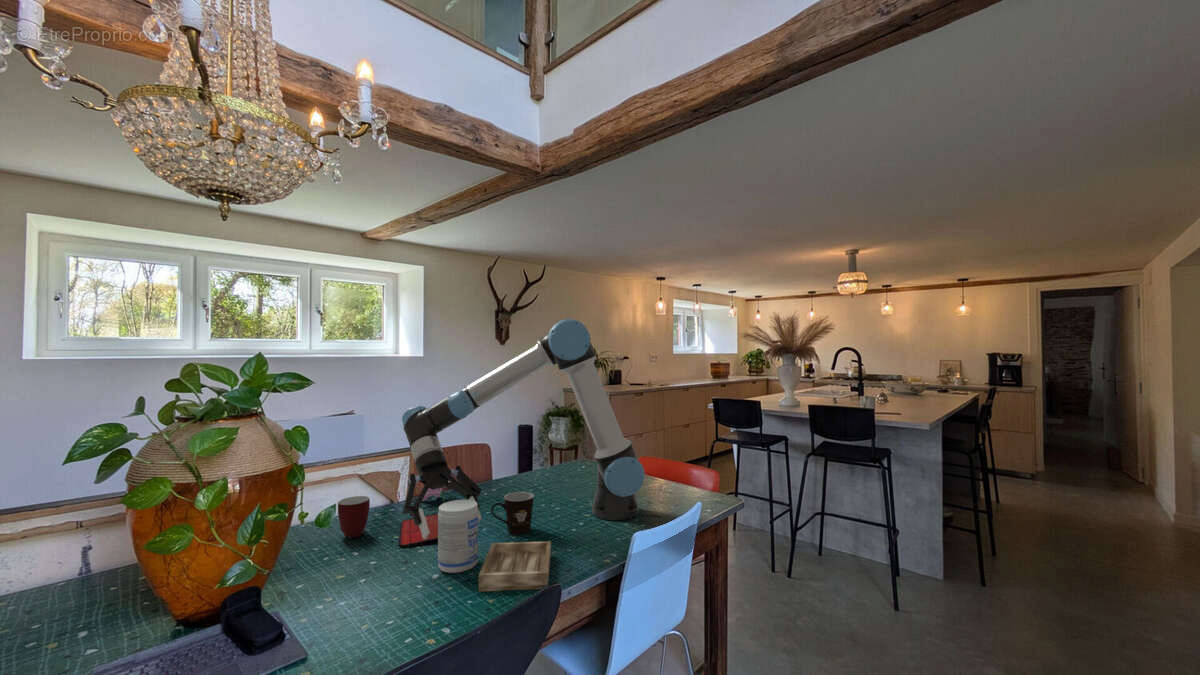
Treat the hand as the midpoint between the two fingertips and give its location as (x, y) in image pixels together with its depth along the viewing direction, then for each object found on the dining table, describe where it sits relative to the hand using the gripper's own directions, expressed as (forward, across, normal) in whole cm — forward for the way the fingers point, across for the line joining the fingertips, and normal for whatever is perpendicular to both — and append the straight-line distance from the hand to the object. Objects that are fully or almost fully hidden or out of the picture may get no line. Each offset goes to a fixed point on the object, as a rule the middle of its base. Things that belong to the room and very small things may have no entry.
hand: (453, 528), depth 114 cm
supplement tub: (+7, -1, -6) cm, 9 cm away
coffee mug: (+1, -23, -12) cm, 26 cm away
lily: (-29, -18, -42) cm, 54 cm away
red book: (-11, -4, -25) cm, 28 cm away
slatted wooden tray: (+16, -9, +4) cm, 19 cm away
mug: (-20, +12, -33) cm, 41 cm away
